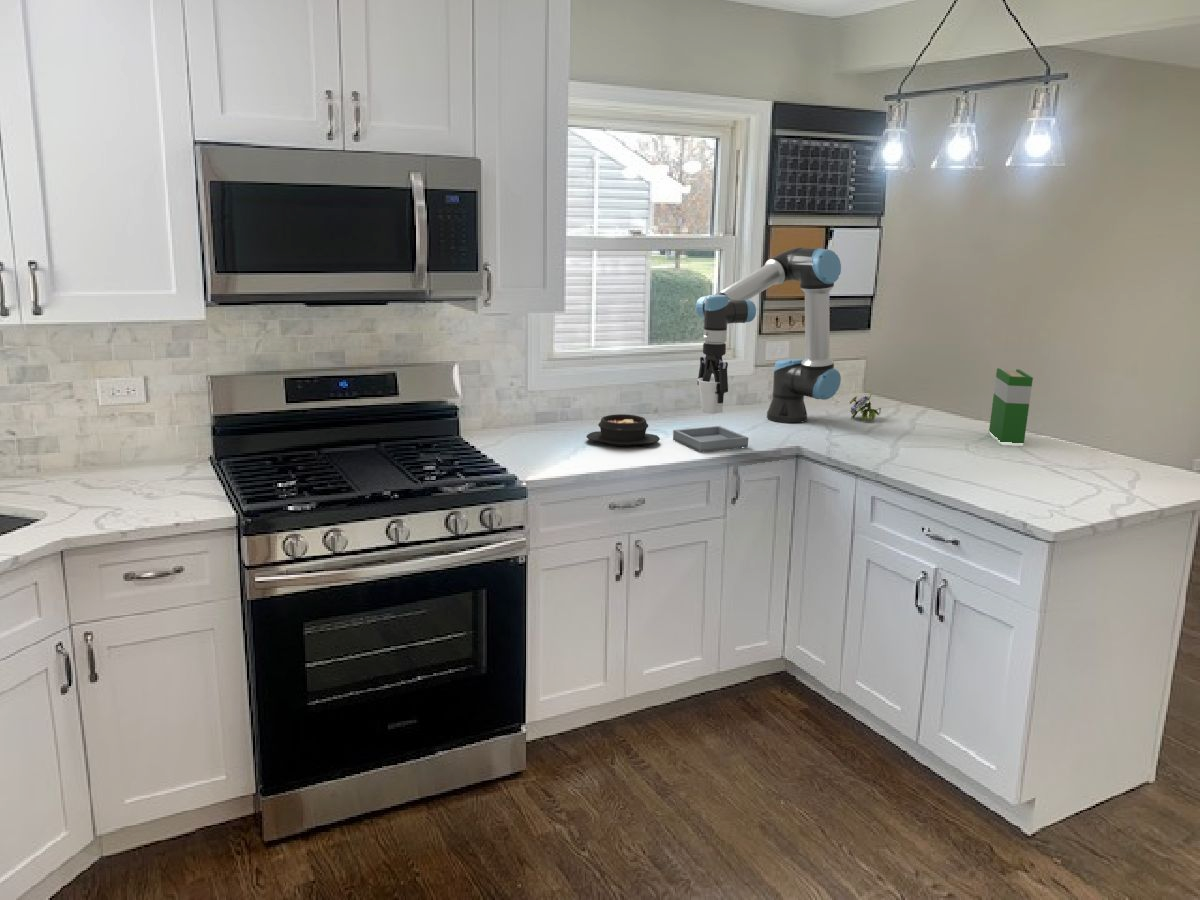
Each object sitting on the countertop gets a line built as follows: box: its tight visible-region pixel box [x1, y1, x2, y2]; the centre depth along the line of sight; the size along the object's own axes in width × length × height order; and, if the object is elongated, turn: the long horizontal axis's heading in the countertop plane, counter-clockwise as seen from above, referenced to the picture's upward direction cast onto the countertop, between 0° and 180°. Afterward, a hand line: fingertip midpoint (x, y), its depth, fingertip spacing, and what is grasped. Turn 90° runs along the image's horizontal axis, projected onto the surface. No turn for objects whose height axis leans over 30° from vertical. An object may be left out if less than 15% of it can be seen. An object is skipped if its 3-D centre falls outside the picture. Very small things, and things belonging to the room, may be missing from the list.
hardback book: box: [988, 367, 1034, 444], centre depth 313 cm, size 18×7×24 cm, turn 169°
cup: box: [697, 376, 719, 415], centre depth 301 cm, size 10×10×11 cm
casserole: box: [586, 413, 661, 447], centre depth 303 cm, size 25×19×8 cm
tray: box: [672, 425, 749, 453], centre depth 304 cm, size 18×18×4 cm
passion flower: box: [849, 393, 882, 422], centre depth 345 cm, size 11×11×12 cm
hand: (711, 409), depth 302 cm, fingers closed on cup, 8 cm apart
